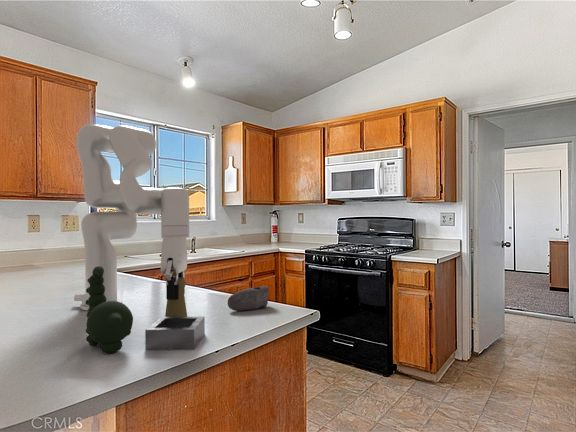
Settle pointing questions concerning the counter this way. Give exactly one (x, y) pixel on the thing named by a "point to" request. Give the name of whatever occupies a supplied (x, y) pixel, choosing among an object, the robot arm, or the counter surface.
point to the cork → (177, 302)
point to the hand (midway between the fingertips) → (175, 296)
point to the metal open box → (175, 333)
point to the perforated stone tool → (249, 299)
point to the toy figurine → (105, 316)
